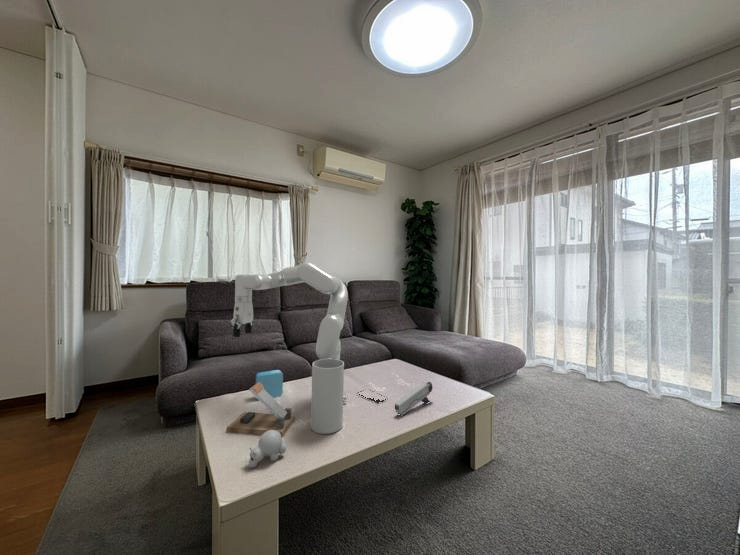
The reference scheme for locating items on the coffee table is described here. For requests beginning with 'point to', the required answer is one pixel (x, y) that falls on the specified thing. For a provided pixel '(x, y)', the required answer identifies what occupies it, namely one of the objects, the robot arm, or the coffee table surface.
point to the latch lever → (268, 400)
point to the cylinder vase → (327, 395)
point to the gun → (414, 398)
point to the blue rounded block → (271, 382)
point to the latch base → (261, 423)
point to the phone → (373, 398)
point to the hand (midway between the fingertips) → (242, 334)
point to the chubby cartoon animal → (267, 448)
